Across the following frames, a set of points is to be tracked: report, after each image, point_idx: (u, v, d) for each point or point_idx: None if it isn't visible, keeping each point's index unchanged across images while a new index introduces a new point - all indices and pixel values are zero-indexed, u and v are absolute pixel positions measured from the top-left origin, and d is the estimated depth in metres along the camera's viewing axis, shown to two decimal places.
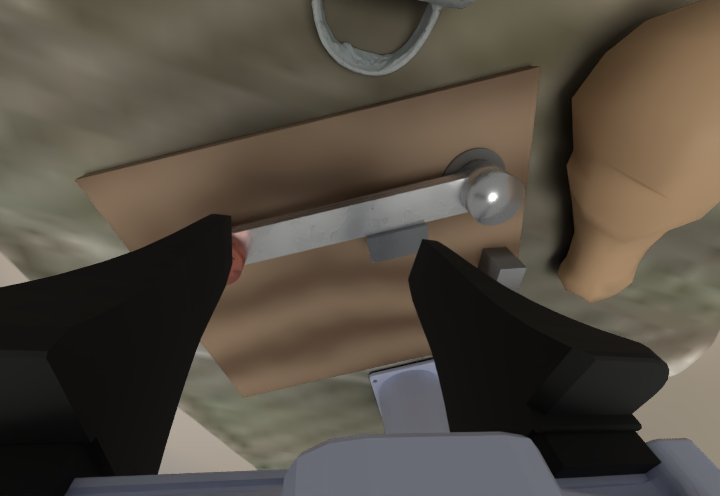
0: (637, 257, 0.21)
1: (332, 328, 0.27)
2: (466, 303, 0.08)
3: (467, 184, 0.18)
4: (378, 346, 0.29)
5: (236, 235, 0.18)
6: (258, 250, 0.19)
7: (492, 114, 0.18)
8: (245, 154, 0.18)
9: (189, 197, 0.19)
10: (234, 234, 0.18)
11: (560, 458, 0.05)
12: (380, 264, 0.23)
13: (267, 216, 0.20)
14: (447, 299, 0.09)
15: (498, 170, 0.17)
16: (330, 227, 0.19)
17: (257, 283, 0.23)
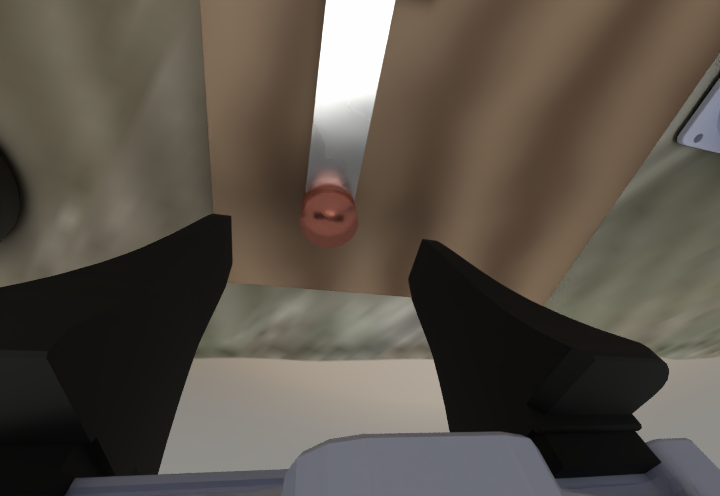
0: None
1: (538, 148, 0.16)
2: (466, 303, 0.08)
3: None
4: (638, 91, 0.15)
5: (310, 181, 0.14)
6: (342, 168, 0.14)
7: None
8: (227, 114, 0.14)
9: (262, 205, 0.16)
10: (308, 182, 0.14)
11: (560, 458, 0.05)
12: None
13: None
14: (447, 299, 0.09)
15: None
16: (353, 39, 0.11)
17: (402, 202, 0.17)
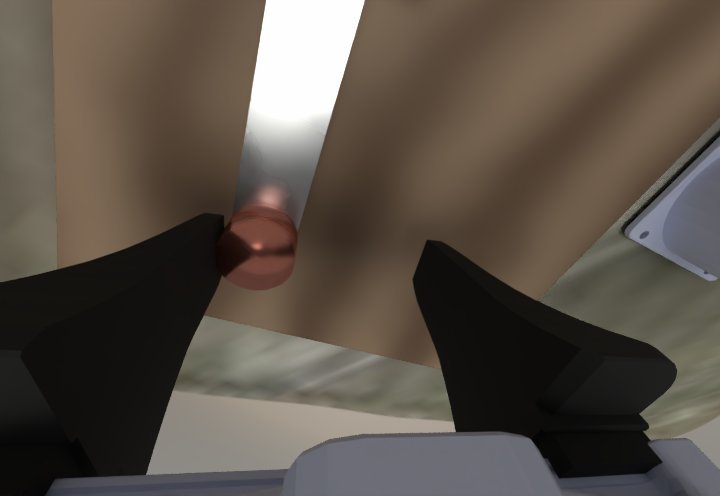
0: None
1: (490, 208, 0.14)
2: (472, 304, 0.08)
3: None
4: (600, 172, 0.14)
5: (240, 200, 0.11)
6: (284, 190, 0.10)
7: None
8: (86, 59, 0.10)
9: (134, 197, 0.12)
10: (236, 202, 0.11)
11: (569, 458, 0.05)
12: (462, 9, 0.10)
13: (221, 125, 0.11)
14: (452, 299, 0.10)
15: None
16: (309, 22, 0.08)
17: (324, 233, 0.14)
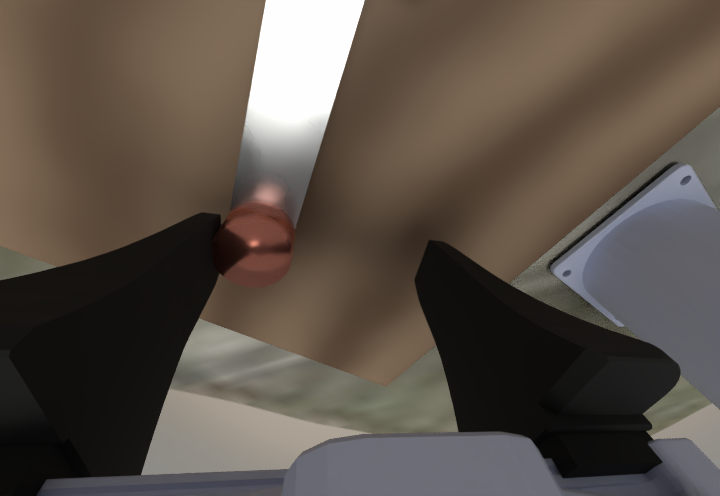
0: None
1: (425, 221, 0.14)
2: (475, 304, 0.09)
3: None
4: (532, 205, 0.14)
5: (237, 197, 0.10)
6: (282, 187, 0.10)
7: None
8: None
9: (30, 135, 0.11)
10: (233, 198, 0.10)
11: (573, 458, 0.06)
12: (415, 13, 0.10)
13: (145, 75, 0.10)
14: (455, 299, 0.10)
15: None
16: (309, 19, 0.08)
17: None
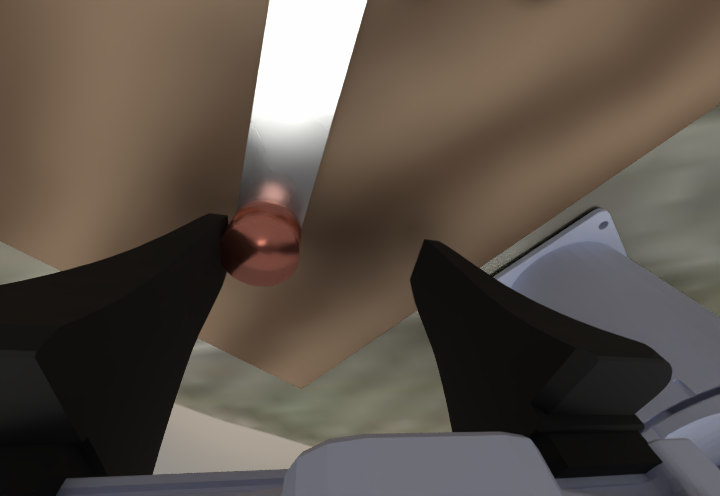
0: None
1: (355, 220, 0.14)
2: (469, 303, 0.08)
3: None
4: (462, 223, 0.14)
5: (244, 196, 0.11)
6: (288, 186, 0.10)
7: None
8: None
9: None
10: (240, 198, 0.11)
11: (564, 458, 0.05)
12: None
13: None
14: (449, 299, 0.09)
15: None
16: (313, 16, 0.08)
17: (164, 180, 0.12)
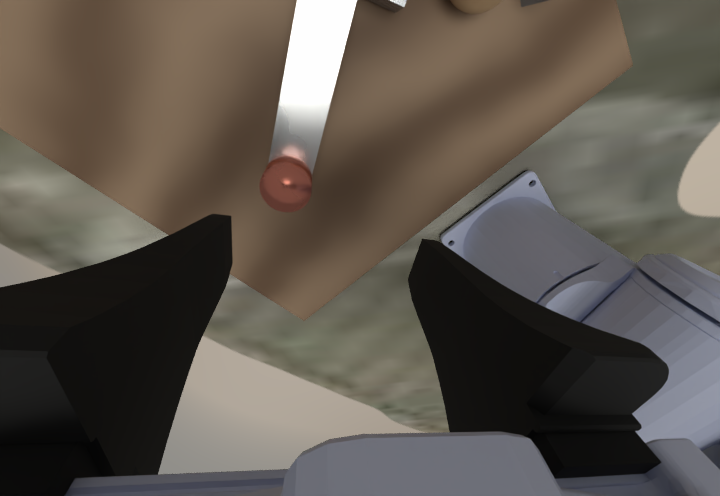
0: None
1: (344, 175, 0.19)
2: (466, 303, 0.08)
3: None
4: (423, 178, 0.20)
5: (273, 152, 0.16)
6: (303, 144, 0.16)
7: None
8: None
9: (43, 37, 0.14)
10: (271, 153, 0.16)
11: (560, 458, 0.05)
12: None
13: (144, 14, 0.14)
14: (447, 299, 0.09)
15: None
16: (318, 33, 0.13)
17: (209, 142, 0.17)
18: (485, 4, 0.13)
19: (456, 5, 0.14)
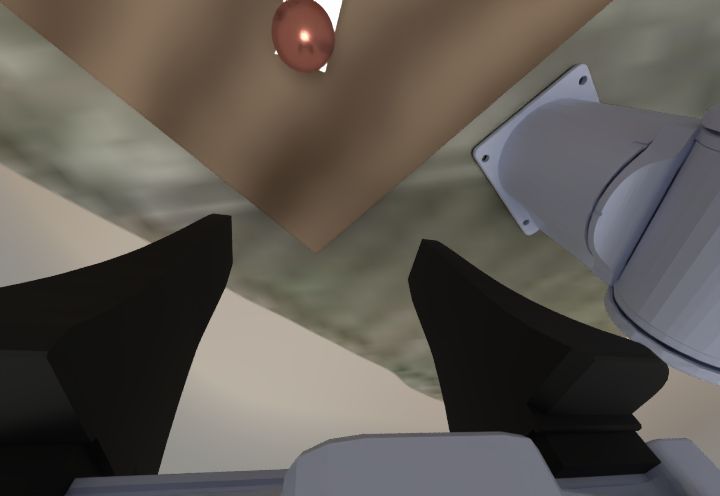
0: None
1: (368, 55, 0.16)
2: (466, 303, 0.08)
3: None
4: (459, 65, 0.17)
5: None
6: None
7: None
8: None
9: None
10: (285, 0, 0.13)
11: (560, 458, 0.05)
12: None
13: None
14: (447, 299, 0.09)
15: None
16: None
17: (210, 0, 0.14)
18: None
19: None
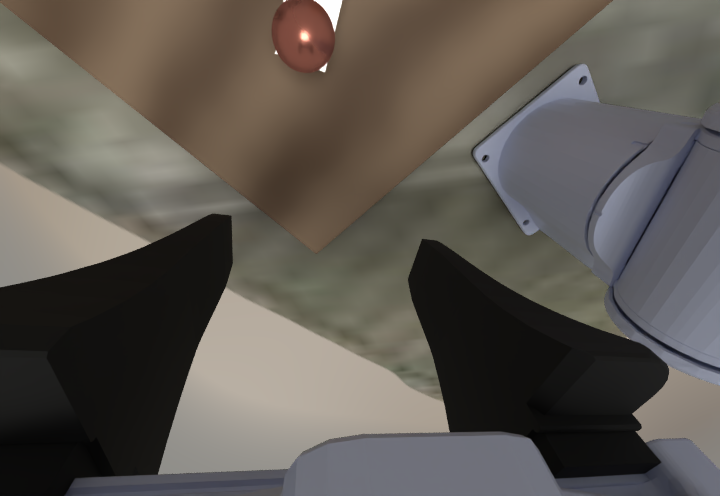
0: None
1: (368, 55, 0.16)
2: (466, 303, 0.08)
3: None
4: (459, 65, 0.17)
5: None
6: None
7: None
8: None
9: None
10: (285, 0, 0.13)
11: (560, 458, 0.05)
12: None
13: None
14: (447, 299, 0.09)
15: None
16: None
17: (210, 0, 0.14)
18: None
19: None
